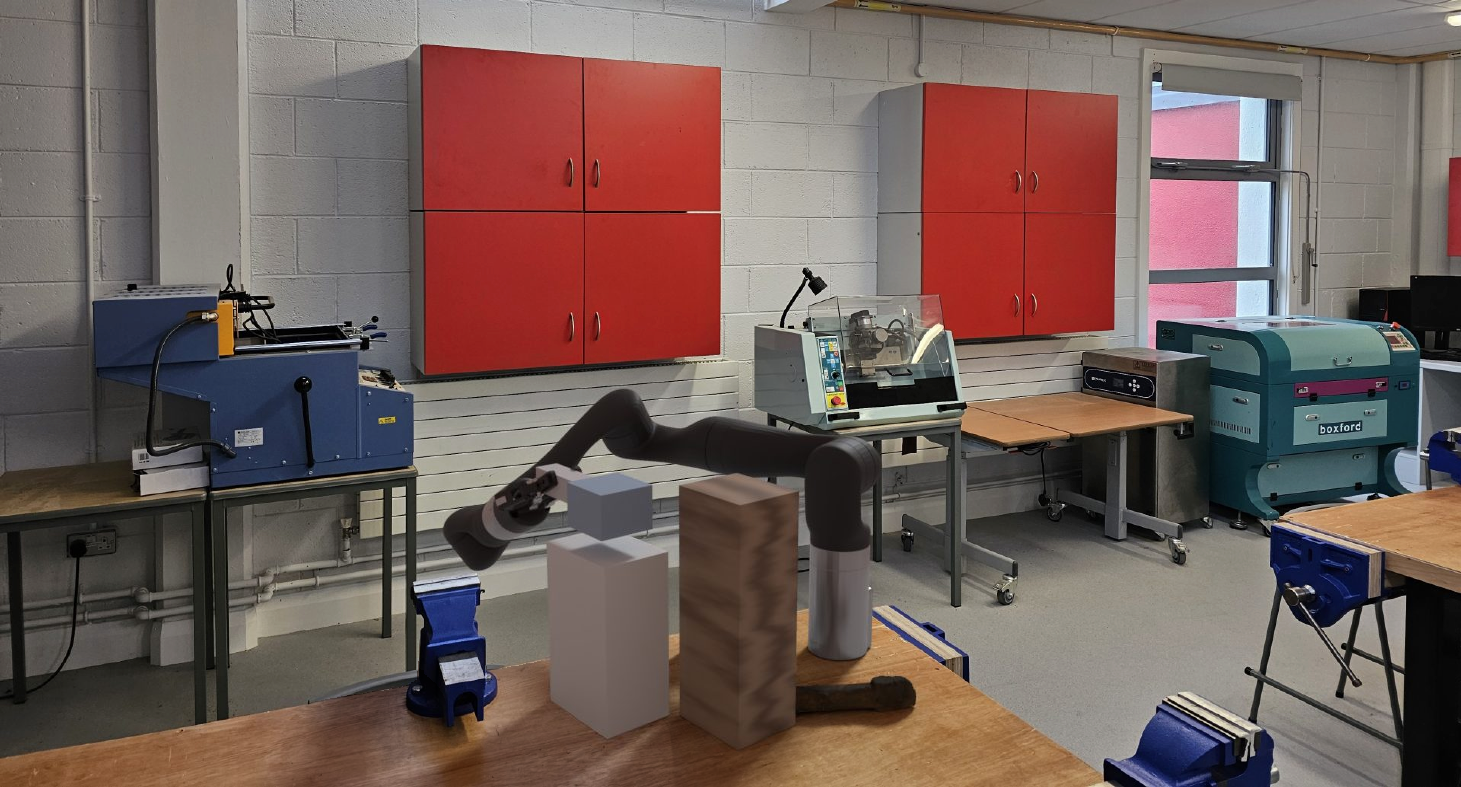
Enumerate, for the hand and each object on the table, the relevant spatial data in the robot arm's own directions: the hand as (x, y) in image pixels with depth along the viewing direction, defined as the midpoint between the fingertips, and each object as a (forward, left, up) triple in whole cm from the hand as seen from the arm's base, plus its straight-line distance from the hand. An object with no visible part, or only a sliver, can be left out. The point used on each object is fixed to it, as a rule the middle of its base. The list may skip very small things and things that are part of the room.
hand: (566, 475), depth 140 cm
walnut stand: (-11, +24, -31) cm, 40 cm away
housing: (0, +5, -5) cm, 7 cm away
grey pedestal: (0, +10, -31) cm, 32 cm away
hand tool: (-25, +31, -31) cm, 50 cm away
